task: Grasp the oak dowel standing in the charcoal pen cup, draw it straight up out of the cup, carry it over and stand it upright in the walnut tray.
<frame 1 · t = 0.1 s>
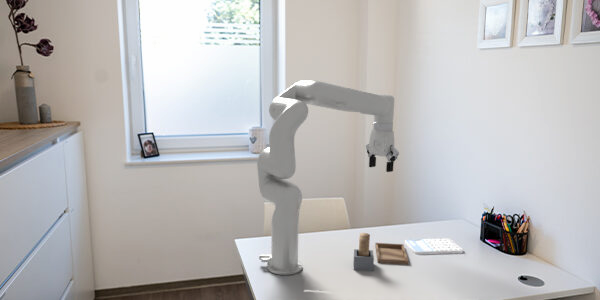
hand: (380, 169, 185), 31 cm above the table, tool pointing down, fingers open, 9 cm apart
calculator: (433, 248, 188), on the table
tray: (390, 256, 178), on the table
dowel: (363, 266, 167), point 1 cm above the table, touching pen cup
pen cup: (363, 267, 167), on the table
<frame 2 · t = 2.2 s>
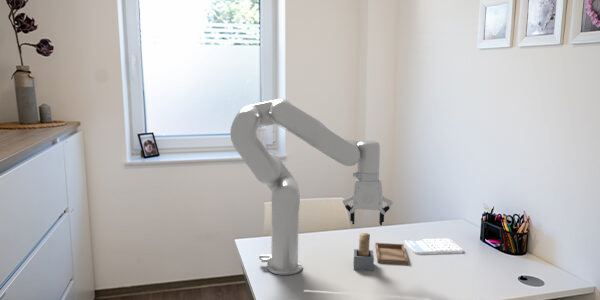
hand: (366, 223, 164), 17 cm above the table, tool pointing down, fingers open, 9 cm apart
nothing on the table moved.
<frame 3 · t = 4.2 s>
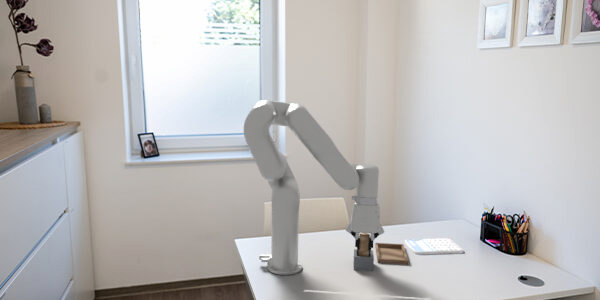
hand: (363, 248, 166), 7 cm above the table, tool pointing down, fingers closed on dowel, 3 cm apart
dowel: (363, 266, 167), point 1 cm above the table, touching gripper, pen cup
everything else where it was.
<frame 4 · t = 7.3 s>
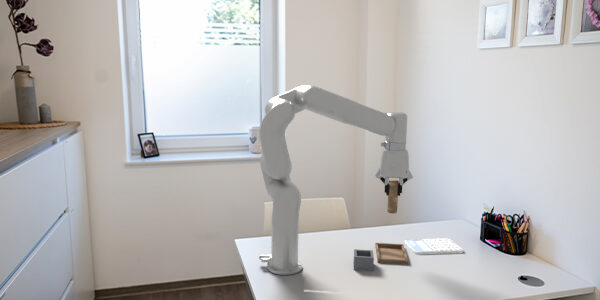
hand: (393, 194, 172), 25 cm above the table, tool pointing down, fingers closed on dowel, 3 cm apart
dowel: (392, 211, 173), point 18 cm above the table, touching gripper
everything else where it was.
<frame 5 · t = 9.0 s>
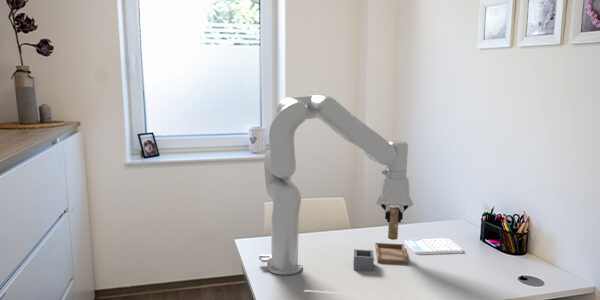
hand: (393, 220, 175), 14 cm above the table, tool pointing down, fingers closed on dowel, 3 cm apart
dowel: (392, 237, 176), point 7 cm above the table, touching gripper
everything else where it was.
when the fingers open (9 cm above the table, at t = 10.6 s): dowel drops 1 cm, resting on tray.
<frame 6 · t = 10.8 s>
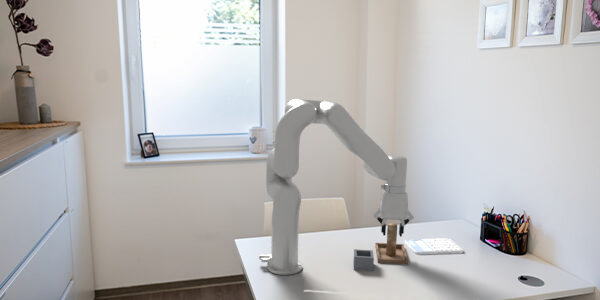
hand: (392, 234, 176), 9 cm above the table, tool pointing down, fingers open, 5 cm apart
dowel: (390, 254, 178), point 1 cm above the table, touching tray
everything else where it was.
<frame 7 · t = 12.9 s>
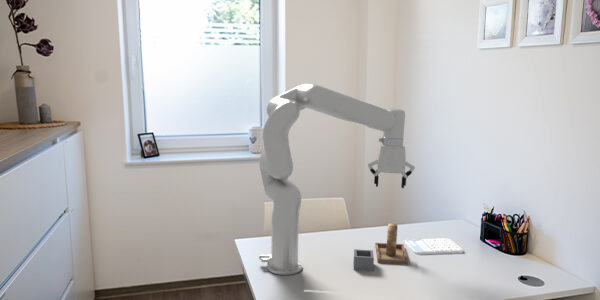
hand: (389, 186, 176), 27 cm above the table, tool pointing down, fingers open, 9 cm apart
nothing on the table moved.
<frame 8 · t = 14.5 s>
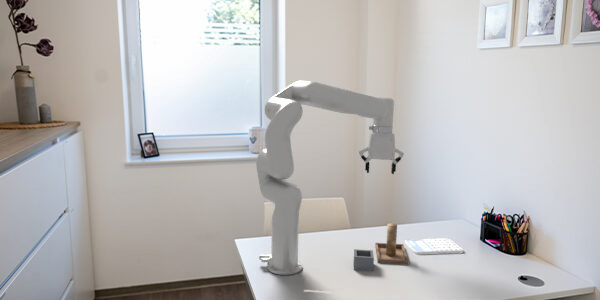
hand: (380, 172, 182), 30 cm above the table, tool pointing down, fingers open, 9 cm apart
nothing on the table moved.
at the end: dowel inside the target area on the tray (0.1 cm from its centre), point 0.6 cm above the tray's base; dowel tilted 1°; the gripper is holding nothing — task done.
